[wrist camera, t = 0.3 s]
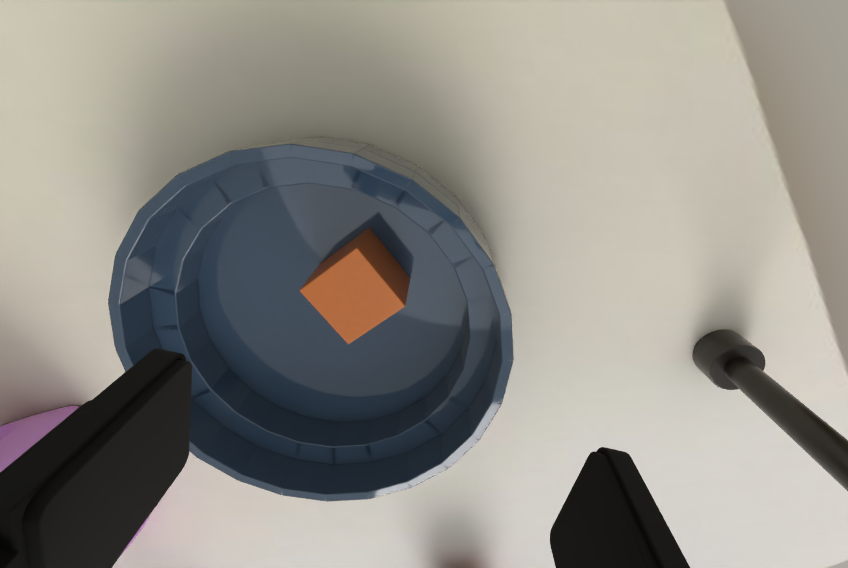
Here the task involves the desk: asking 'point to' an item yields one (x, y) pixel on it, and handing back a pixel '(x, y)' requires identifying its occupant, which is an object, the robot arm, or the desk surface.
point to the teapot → (31, 436)
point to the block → (358, 286)
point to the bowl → (316, 318)
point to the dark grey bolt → (771, 398)
